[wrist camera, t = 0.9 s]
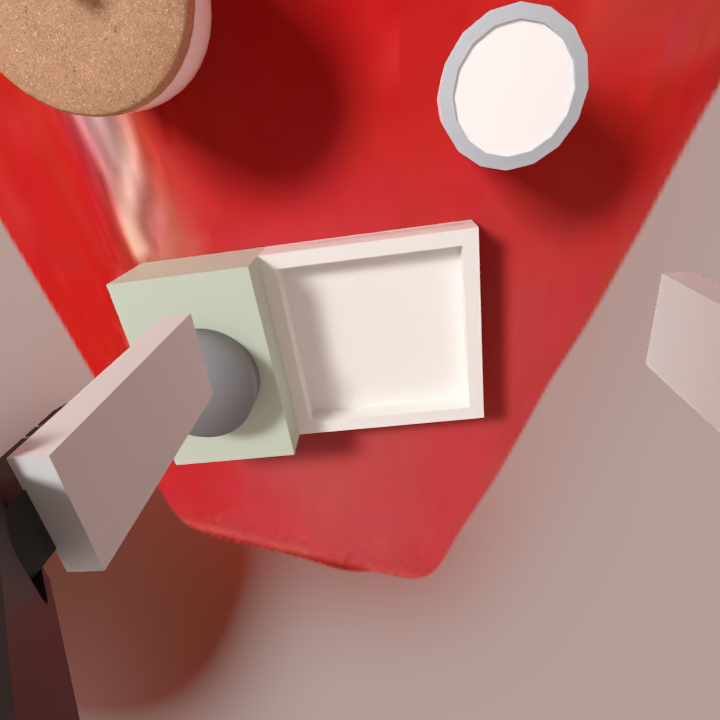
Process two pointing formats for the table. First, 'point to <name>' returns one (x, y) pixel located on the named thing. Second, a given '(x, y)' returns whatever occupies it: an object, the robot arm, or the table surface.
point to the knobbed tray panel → (322, 335)
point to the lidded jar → (103, 51)
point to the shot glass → (513, 86)
